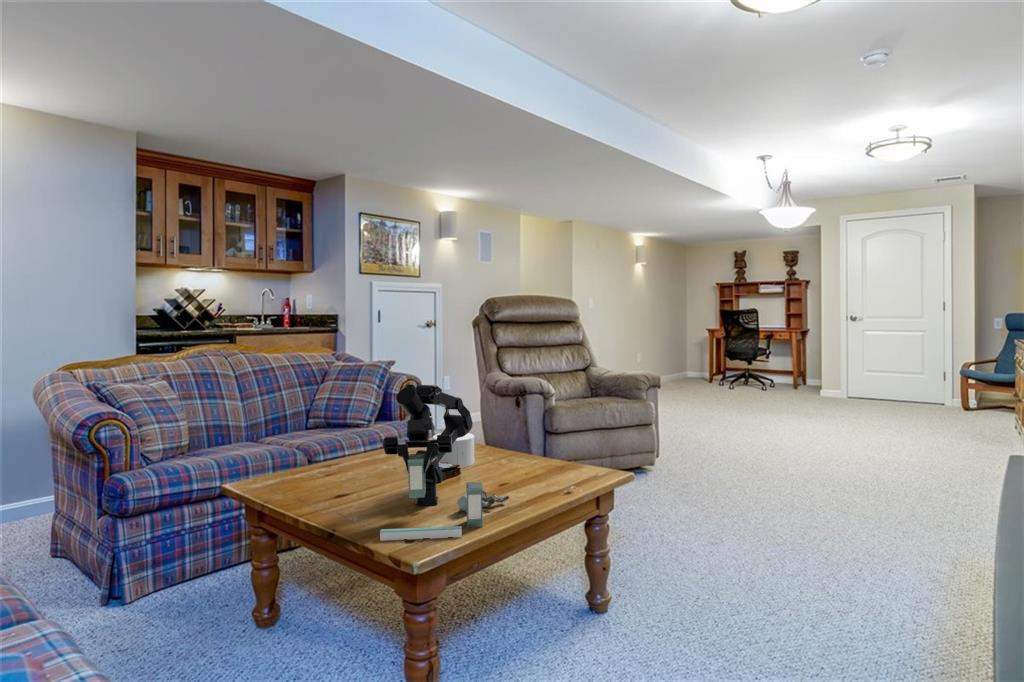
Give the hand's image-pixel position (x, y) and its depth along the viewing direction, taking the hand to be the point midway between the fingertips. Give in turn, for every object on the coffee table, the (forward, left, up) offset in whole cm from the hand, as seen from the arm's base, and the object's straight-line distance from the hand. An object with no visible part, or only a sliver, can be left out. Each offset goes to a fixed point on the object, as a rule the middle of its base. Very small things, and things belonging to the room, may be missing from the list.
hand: (416, 472), depth 156 cm
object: (-61, +10, -14) cm, 63 cm away
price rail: (+13, +2, -13) cm, 18 cm away
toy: (-9, +17, -14) cm, 24 cm away
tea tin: (-2, 0, -7) cm, 7 cm away
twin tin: (+4, +15, -13) cm, 21 cm away
